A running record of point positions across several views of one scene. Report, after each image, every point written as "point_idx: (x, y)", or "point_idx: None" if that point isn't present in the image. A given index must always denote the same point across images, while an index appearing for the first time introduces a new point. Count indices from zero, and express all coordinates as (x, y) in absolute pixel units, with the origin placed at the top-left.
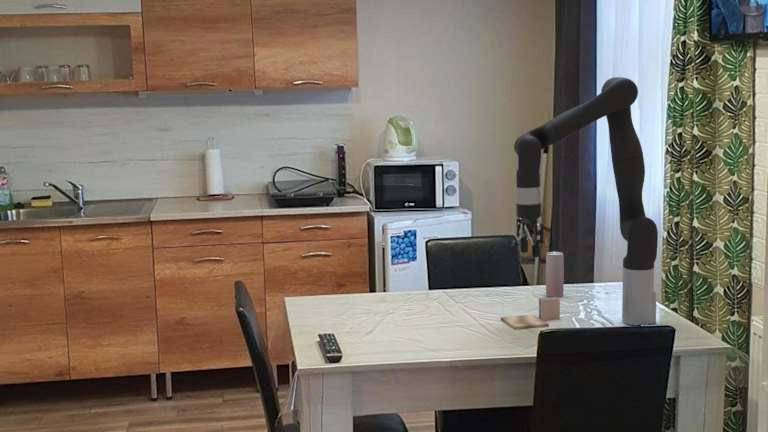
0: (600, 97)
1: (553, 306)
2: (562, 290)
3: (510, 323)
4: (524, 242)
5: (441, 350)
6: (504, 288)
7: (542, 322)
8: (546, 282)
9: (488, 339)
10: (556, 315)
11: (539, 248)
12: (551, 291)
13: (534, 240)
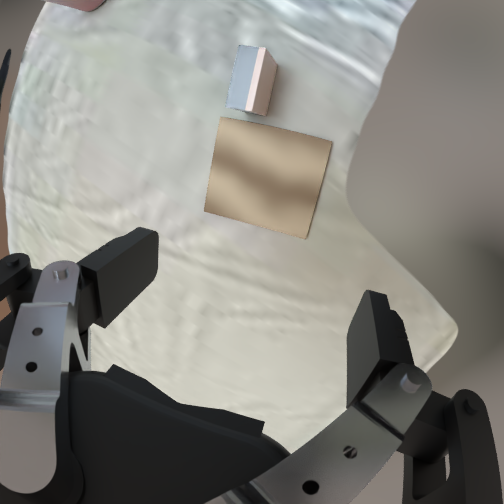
0: None
1: (265, 74)
2: None
3: (270, 227)
4: (110, 292)
5: (333, 410)
6: (24, 75)
7: (310, 147)
8: (69, 5)
9: (336, 331)
10: (274, 71)
11: (396, 336)
12: (94, 1)
13: (412, 464)
